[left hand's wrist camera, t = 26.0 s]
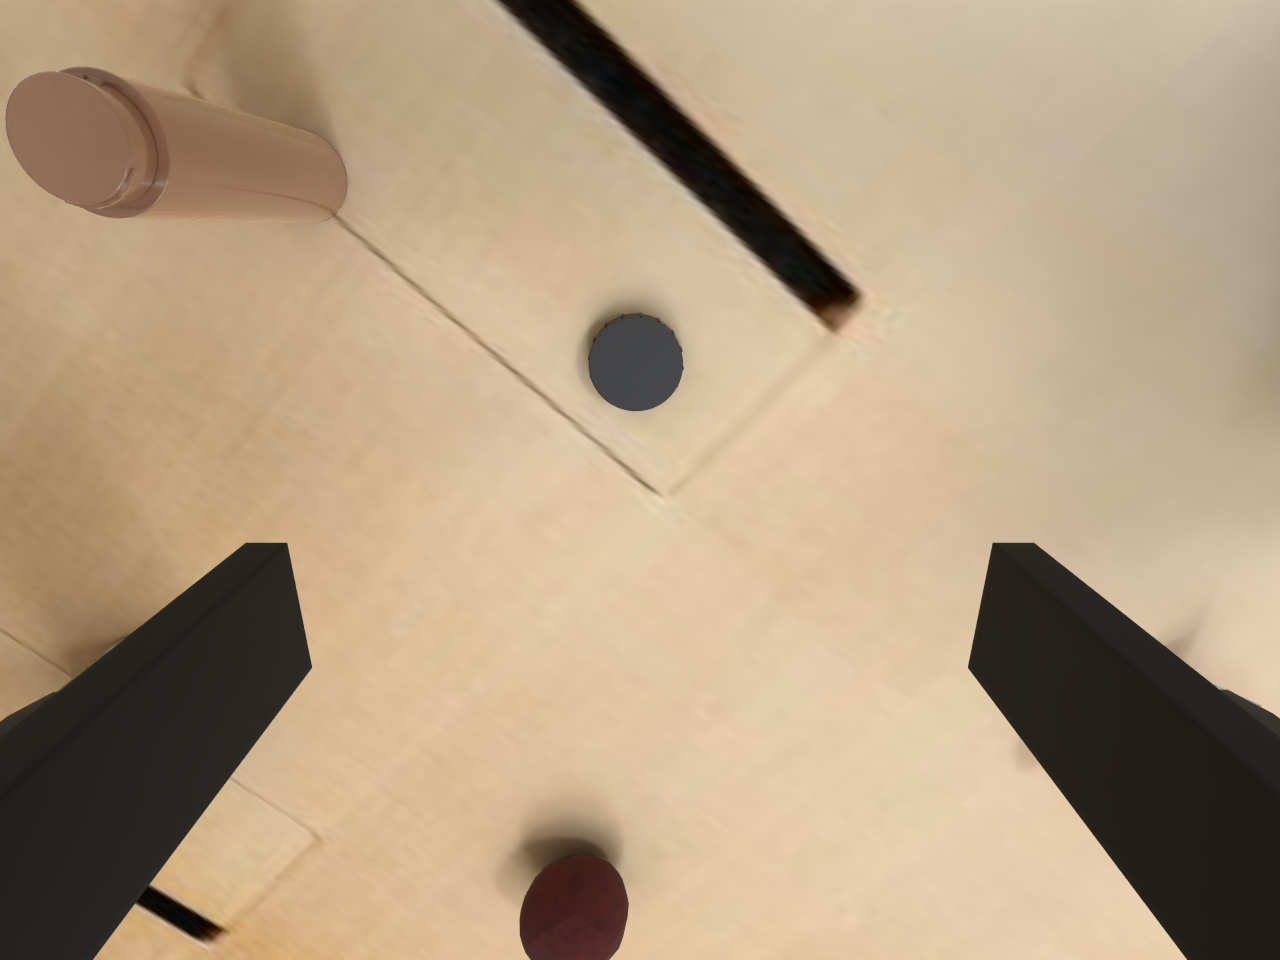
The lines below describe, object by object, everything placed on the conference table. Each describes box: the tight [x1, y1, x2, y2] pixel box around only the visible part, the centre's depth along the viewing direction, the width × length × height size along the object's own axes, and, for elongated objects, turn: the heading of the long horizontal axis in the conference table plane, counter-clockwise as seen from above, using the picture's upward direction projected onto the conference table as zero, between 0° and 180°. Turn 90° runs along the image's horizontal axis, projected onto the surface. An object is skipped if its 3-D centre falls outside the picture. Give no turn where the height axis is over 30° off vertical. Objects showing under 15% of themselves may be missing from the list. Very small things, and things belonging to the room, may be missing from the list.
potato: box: [520, 855, 629, 960], centre depth 47 cm, size 7×8×7 cm
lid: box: [588, 313, 684, 411], centre depth 37 cm, size 5×5×2 cm
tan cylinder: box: [6, 67, 347, 223], centre depth 27 cm, size 4×4×15 cm
